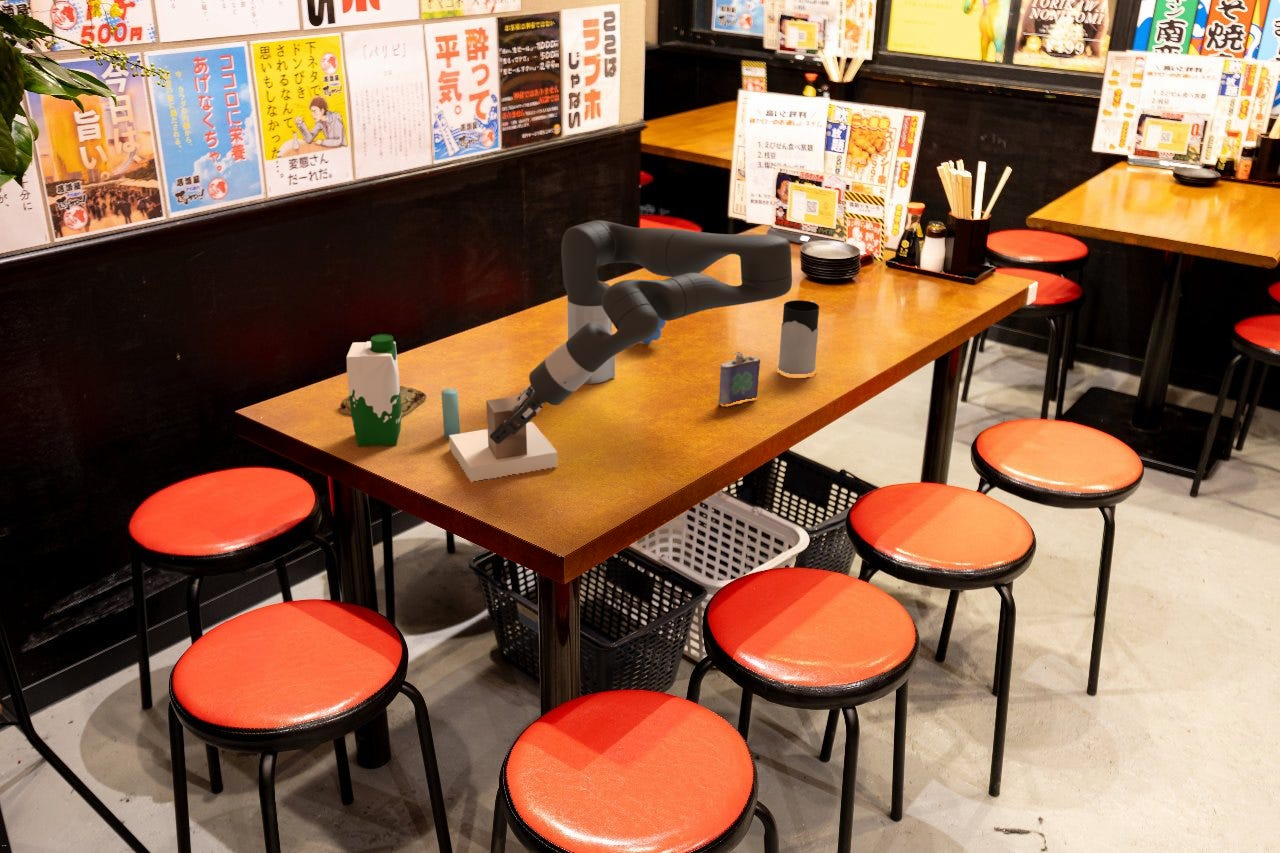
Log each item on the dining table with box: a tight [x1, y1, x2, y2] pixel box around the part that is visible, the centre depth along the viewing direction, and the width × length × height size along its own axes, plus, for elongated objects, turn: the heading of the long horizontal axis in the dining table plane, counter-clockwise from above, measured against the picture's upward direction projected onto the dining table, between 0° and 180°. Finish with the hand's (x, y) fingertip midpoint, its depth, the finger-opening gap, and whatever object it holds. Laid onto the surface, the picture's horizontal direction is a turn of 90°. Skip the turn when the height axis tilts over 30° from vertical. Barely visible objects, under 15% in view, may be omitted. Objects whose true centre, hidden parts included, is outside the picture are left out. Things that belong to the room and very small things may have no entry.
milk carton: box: [346, 333, 402, 447], centre depth 207 cm, size 9×9×20 cm
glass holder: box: [777, 299, 820, 374], centre depth 244 cm, size 9×14×15 cm, turn 155°
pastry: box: [339, 385, 427, 419], centre depth 225 cm, size 17×17×3 cm
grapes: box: [641, 318, 667, 345], centre depth 257 cm, size 12×7×12 cm, turn 44°
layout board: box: [448, 421, 559, 482], centre depth 203 cm, size 16×14×3 cm
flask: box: [718, 351, 761, 405], centre depth 227 cm, size 9×3×11 cm, turn 121°
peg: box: [440, 388, 461, 440], centre depth 211 cm, size 3×3×9 cm
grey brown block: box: [485, 396, 527, 459], centre depth 198 cm, size 6×6×9 cm
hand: (499, 430), depth 199 cm, fingers closed on grey brown block, 7 cm apart
